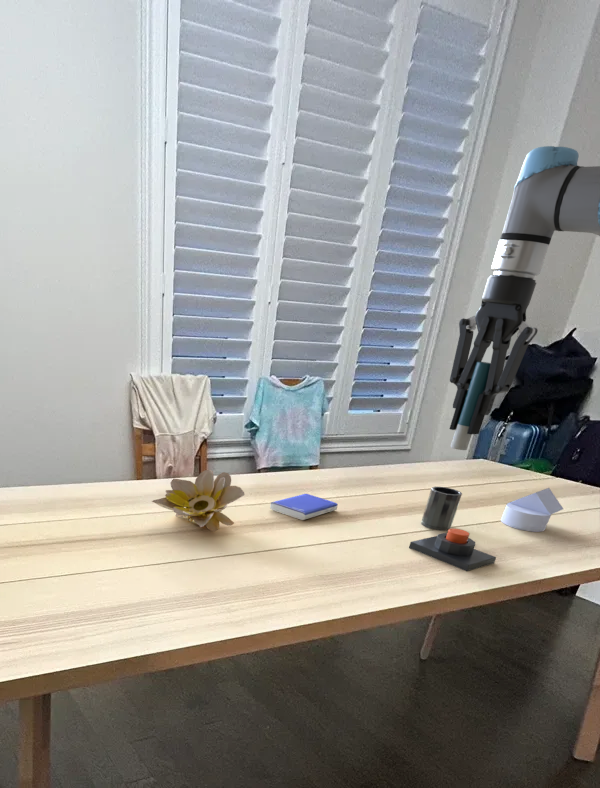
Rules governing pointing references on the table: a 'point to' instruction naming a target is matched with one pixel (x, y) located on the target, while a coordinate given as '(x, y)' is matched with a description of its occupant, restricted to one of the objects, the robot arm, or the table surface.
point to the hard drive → (303, 506)
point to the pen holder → (441, 508)
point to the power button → (457, 536)
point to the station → (453, 552)
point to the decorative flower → (202, 499)
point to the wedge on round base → (531, 511)
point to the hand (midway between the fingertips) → (463, 431)
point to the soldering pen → (470, 405)
